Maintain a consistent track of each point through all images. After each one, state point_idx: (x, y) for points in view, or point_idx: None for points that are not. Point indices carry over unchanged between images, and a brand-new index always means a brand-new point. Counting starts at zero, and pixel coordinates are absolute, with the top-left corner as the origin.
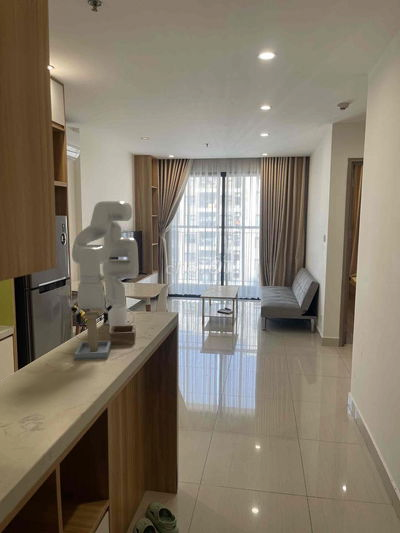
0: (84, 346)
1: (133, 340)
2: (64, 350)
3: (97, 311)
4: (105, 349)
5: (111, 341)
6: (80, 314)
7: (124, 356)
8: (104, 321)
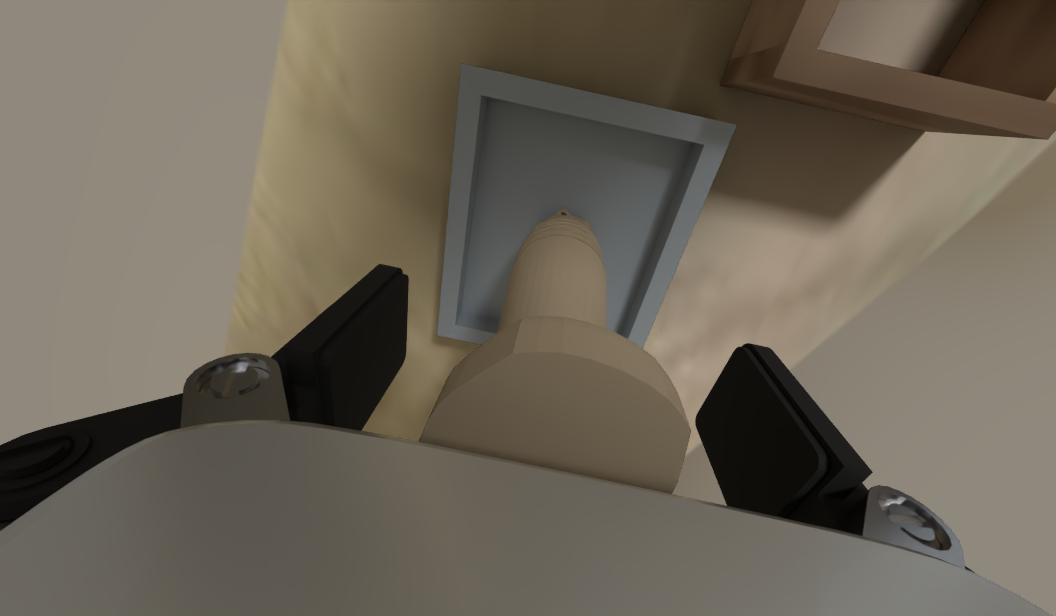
0: (498, 107)
1: (945, 130)
2: (349, 86)
3: (682, 441)
4: (643, 245)
5: (744, 84)
6: (342, 399)
7: (723, 353)
8: (706, 443)
